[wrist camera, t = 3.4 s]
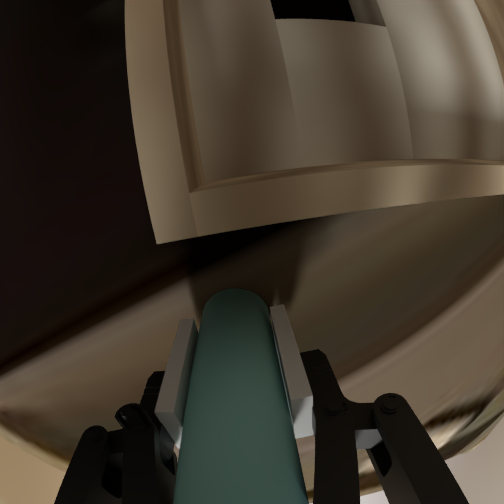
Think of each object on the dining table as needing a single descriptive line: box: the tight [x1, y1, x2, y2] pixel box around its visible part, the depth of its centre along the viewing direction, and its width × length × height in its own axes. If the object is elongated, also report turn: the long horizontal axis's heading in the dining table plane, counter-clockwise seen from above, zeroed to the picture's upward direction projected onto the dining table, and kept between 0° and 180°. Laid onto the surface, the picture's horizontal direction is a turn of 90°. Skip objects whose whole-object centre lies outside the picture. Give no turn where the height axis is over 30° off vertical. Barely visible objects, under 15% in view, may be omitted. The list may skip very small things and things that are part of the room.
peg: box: [173, 288, 309, 504], centre depth 11 cm, size 4×4×12 cm
